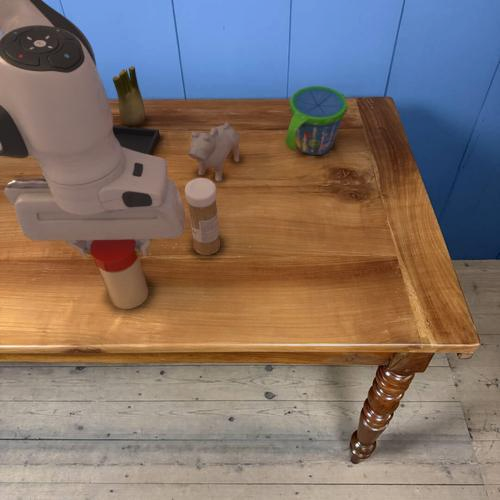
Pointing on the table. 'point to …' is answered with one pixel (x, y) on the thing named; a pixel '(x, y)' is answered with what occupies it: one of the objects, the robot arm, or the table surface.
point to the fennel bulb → (129, 98)
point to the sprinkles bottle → (203, 215)
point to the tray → (137, 138)
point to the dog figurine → (214, 148)
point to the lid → (113, 254)
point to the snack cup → (315, 119)
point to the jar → (126, 286)
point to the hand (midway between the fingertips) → (116, 253)
